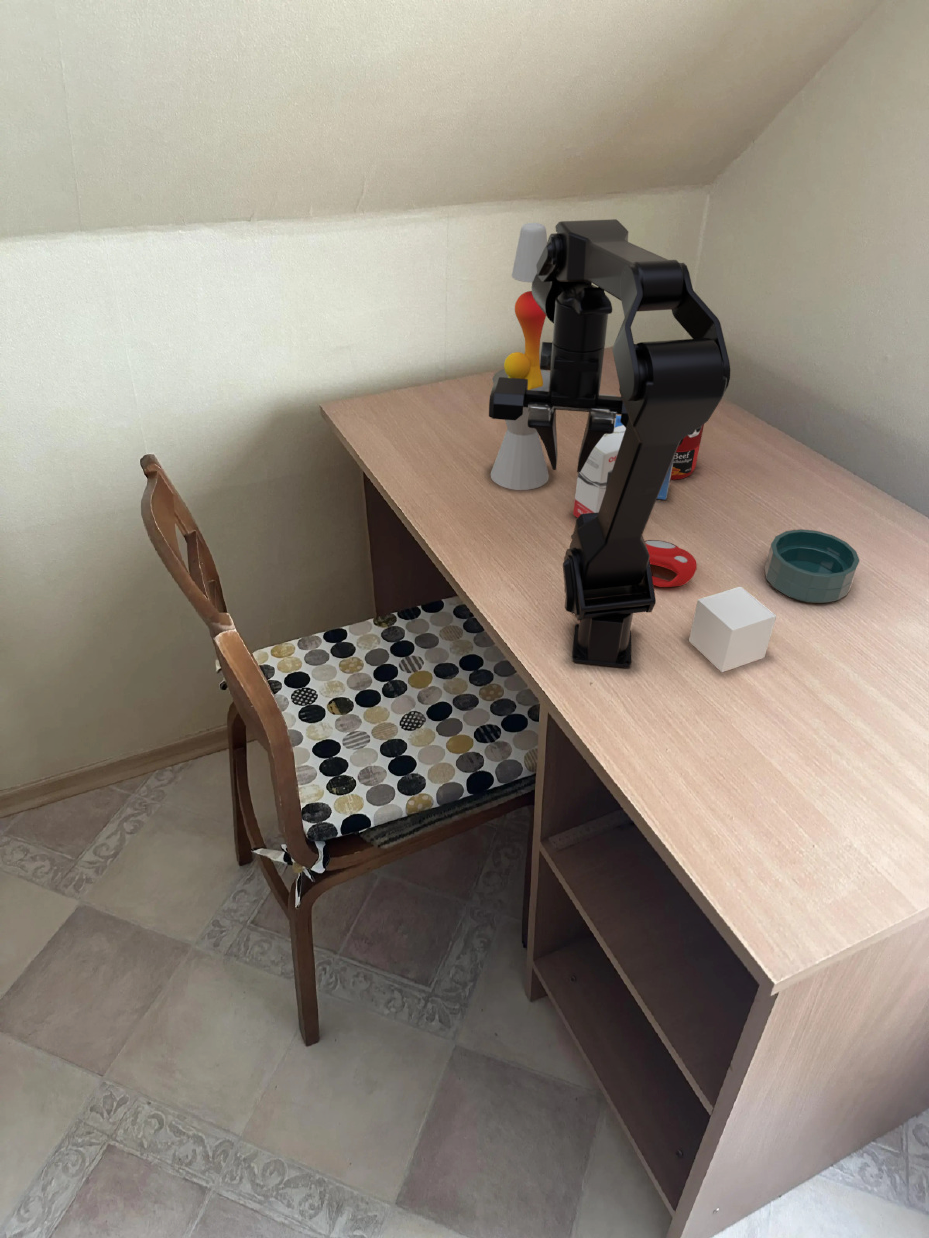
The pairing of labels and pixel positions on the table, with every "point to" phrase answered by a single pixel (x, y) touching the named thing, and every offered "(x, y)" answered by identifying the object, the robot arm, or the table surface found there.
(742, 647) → the white cube
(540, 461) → the lava lamp
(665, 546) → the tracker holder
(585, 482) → the ink box
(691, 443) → the canned food
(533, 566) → the table surface
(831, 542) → the bowl
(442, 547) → the table surface
